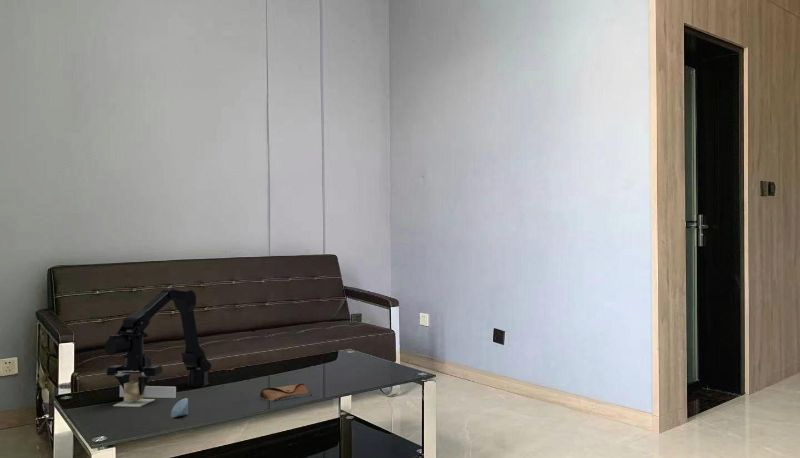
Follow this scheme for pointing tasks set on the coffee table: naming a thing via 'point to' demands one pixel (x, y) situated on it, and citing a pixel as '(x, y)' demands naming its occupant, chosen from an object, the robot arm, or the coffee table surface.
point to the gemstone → (180, 408)
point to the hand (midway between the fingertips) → (134, 394)
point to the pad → (134, 403)
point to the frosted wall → (156, 392)
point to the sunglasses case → (283, 392)
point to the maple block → (132, 391)
